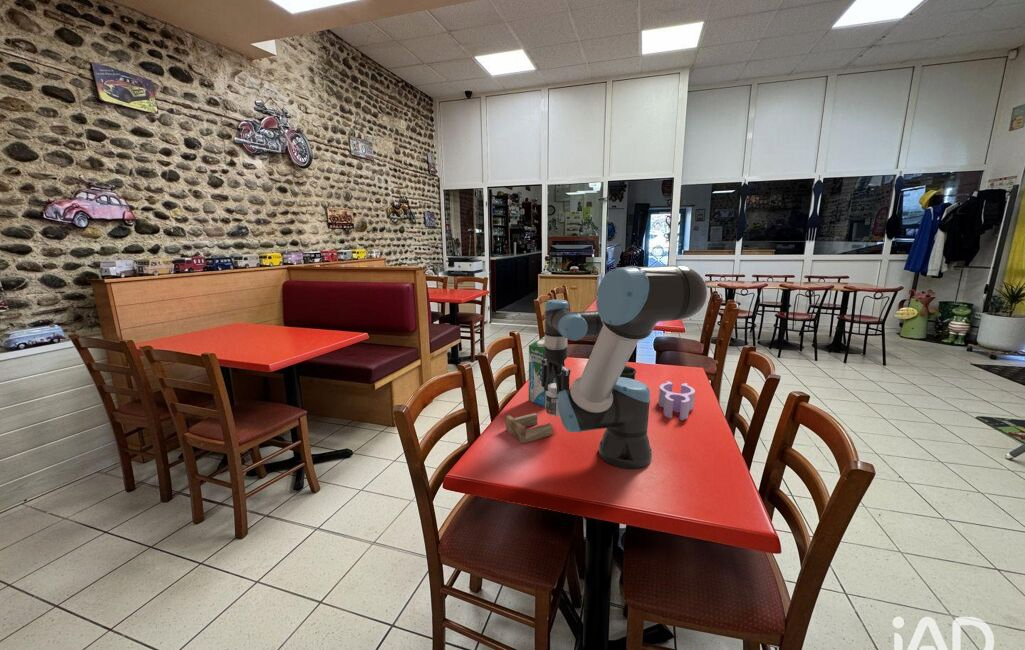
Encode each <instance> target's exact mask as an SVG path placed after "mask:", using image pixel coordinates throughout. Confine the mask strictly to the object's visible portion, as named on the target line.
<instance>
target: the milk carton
mask: <svg viewBox="0 0 1025 650" xmlns="http://www.w3.org/2000/svg"><path fill="white" fill-rule="evenodd" d="M544 340H545V335H544V336H543V337H541V338H539V339H538V340H536V341H534V342H533V343H531V344H529V345H528V401H529V402H532V403H534V404H536V405H539V406H541V407H543V408H545V390H544V387H542V386H541V381H542V362H541V361H542V360H544V359H546V358H545V357H544V348H545V347H546V346H545V345H544ZM559 375H561V374H559ZM544 383H545V382H544ZM553 383H556V380H555V378H554V381H553Z"/></svg>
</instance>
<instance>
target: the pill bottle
mask: <svg viewBox="0 0 1025 650" xmlns="http://www.w3.org/2000/svg"><path fill="white" fill-rule="evenodd" d="M556 397H558V393H557V387H556V383H551V384H548V391H547V393H546V409H545V412H546V414H547V415H549V416H553V417H557V416H556Z"/></svg>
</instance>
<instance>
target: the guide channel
mask: <svg viewBox="0 0 1025 650" xmlns="http://www.w3.org/2000/svg"><path fill="white" fill-rule="evenodd" d="M537 424H538V414H537V413H536V412H532V413H528V414H525V415H521V416H518V417H513V416H512V415H510V414H509V415H506V416H505V431H507V432H508V433H509V434H510V435H512V436H513V437H514V438H515V440H517V441H518V442H519V443H520V444H525V443H528V442H529V443H530V442H533V441H536V440H540V439H544V438H546V437H550V436H552V435H553V424H551V423H545V424H543V425H542V424H541V425H537ZM535 425H537V426H535ZM531 426H535V427H531ZM528 427H531V428H528ZM527 428H528V429H527Z"/></svg>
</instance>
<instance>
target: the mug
mask: <svg viewBox="0 0 1025 650" xmlns="http://www.w3.org/2000/svg"><path fill="white" fill-rule="evenodd" d="M636 373H637V370H636V368H633V367H631V366H629V365H626V366H625V367H624V369H623V371H622V373H621V375H620V377H624V378H630V379H634V380H636Z"/></svg>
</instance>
